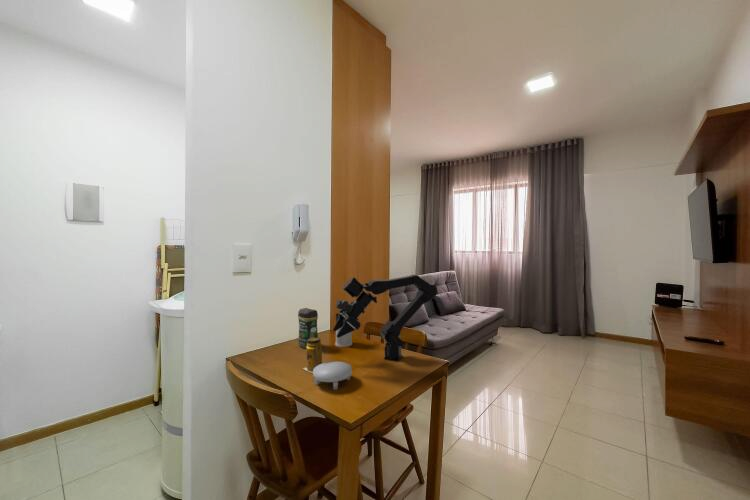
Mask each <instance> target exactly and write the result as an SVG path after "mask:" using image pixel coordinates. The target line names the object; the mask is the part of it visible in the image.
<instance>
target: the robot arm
mask: <svg viewBox="0 0 750 500" xmlns="http://www.w3.org/2000/svg"><path fill="white" fill-rule="evenodd" d="M407 286H414V287H415V288H416V289H417V291H416V294H415V297H414V298H413V299H412V300H411V301H410V302H409V303H408V305H407V306H406V307H404V309H403V310H402V311H401V312H400V313H399V315H398V316H397V317H395V318H394V320H392V321H390V320H389V319H388V320H387V321H386V322H385V324H384V325H381V330H380V336H381V337H382V339H383V340H384V341H385V342H386V343H385V346H384V356H383V359H384V360H387V361H394V362H399V361H400V360H401V359H402V358H403V357H404V355H403V354H402V346H403V343H404V341H403V340H402V339H401V338H400V337H399V336H401V332H402V329H403V327H405V325H406V324H407V323H408V322H409V321H410V320H411V318H413V316H414V315H415V314H416V313H417V312H418V311H419V310H420V309H421V307H422V306H423V305H424V304H425V303H429V302H430V301H431V300H432V299H434V298H435V297H436V296H437V294H438V287H437V286H435V285H434V284H431V283H429V282H427V281H426V280H424V279H423V278H421V277H420V276H419V275H416V274H411V275H406V276H401V277H396V278H391V279H370V280H369V281H368V282H366V283H362V284H361V282H360V281H359V280H358V279H357V278H356V277H355V276H353V277H352V278H350V279H349V280H348V281H346V283H344V285H343V286H342V289H343V291H344V292H346V293H347V294H348V295H349V296H350V297H351V298H355V299H354V301H353V300H352V301H350V302H349V301H347V300H345V299H344V300H342V299H340V298H338V299H337V300H336V302H335V305H334V306H335V307H336V309H338V312H337V313H338V315H339V318H338V321H337V323H336V322H335V325H334V327H333V329H332V330H333V332H336V331H337V330H338V329H340V328H341V327H342V328H341V329H340V331H339V333H338V334H337V337H338V338H339V337H341V336H343V335H345V334H347V333H350V332H351V333H352V332H354V331H356V330H359V329H360V328H361V327H362V326H361V322H360V321H359V317H360V316H361V315H362V314H364V313H365V312H366V311H365V310H366V309H367V308H368V306H370V304H371V303H372V302H374V304H377V303H378V301H377V296H376V295H380V294H384V293H385V292H388V291H389V290H391V289H396V288H401V287H407ZM365 291H366V292H365Z"/></svg>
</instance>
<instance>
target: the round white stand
mask: <svg viewBox="0 0 750 500" xmlns="http://www.w3.org/2000/svg"><path fill="white" fill-rule="evenodd" d="M352 374H353V367H352V366H351V364H349V363H348V362H343V361H328V362H324V363H323V362H322V364H320V365H318V366H316V367H315V368H314V369H313V373H312V377H313V379H314V385H315V386H317V385H320V382H322V383H332V389H333V390H335V391H337V390H338V389H339V382H342V381H344V380H346V381H349V380H351V375H352Z"/></svg>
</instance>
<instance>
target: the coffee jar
mask: <svg viewBox="0 0 750 500" xmlns="http://www.w3.org/2000/svg"><path fill="white" fill-rule="evenodd" d="M318 317H319V314H318V310H316V309H311V308H309V307H308V308H307V307H304V308H300V309H299V310H298V312H297V318H298V346H299V347H301V348H302V349H306V348H307V340H308V339H309V338H319V336H318V319H319V318H318Z"/></svg>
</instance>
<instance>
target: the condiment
mask: <svg viewBox="0 0 750 500" xmlns="http://www.w3.org/2000/svg"><path fill="white" fill-rule="evenodd" d="M322 347H323V346H322V344H321V338H319V337H318V338H309V339H308V340H307V348H305V350H306V367H304V368H303V367H302V369H303V370H305V372H306V371H307V372H309V373H312V374H313V369H314V368H315V367H316V366H318V365H320V364H323V350H322V349H323V348H322Z"/></svg>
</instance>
